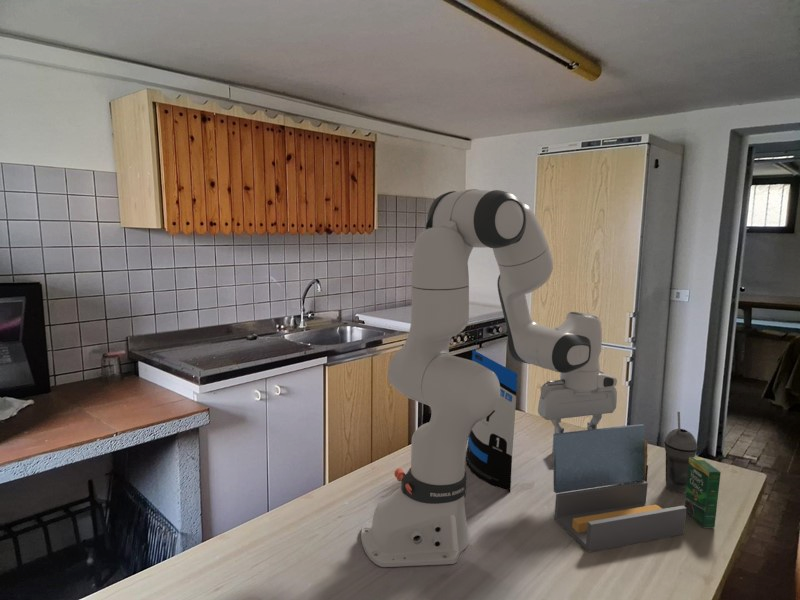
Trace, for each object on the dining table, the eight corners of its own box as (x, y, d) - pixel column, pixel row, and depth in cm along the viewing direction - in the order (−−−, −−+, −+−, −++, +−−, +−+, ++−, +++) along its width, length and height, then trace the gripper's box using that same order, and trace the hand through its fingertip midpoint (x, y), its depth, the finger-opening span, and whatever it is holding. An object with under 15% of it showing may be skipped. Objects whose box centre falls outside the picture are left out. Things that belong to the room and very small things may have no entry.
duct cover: (556, 434, 112) (553, 433, 113) (556, 493, 113) (553, 491, 113) (644, 425, 119) (641, 424, 120) (644, 479, 120) (641, 478, 120)
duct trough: (588, 552, 102) (591, 524, 101) (554, 519, 113) (556, 494, 113) (683, 534, 109) (686, 507, 108) (642, 504, 120) (644, 480, 120)
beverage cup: (691, 499, 123) (700, 420, 120) (658, 490, 127) (666, 414, 124) (693, 486, 129) (701, 411, 127) (661, 478, 133) (668, 405, 130)
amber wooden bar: (577, 532, 107) (578, 523, 107) (572, 527, 109) (572, 518, 109) (662, 517, 113) (663, 509, 113) (655, 512, 115) (656, 504, 115)
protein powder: (482, 448, 149) (487, 348, 144) (527, 490, 126) (534, 372, 122) (452, 452, 146) (457, 350, 142) (492, 495, 123) (499, 375, 119)
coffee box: (682, 507, 119) (688, 455, 118) (694, 508, 119) (700, 455, 118) (702, 528, 111) (708, 471, 110) (715, 528, 111) (722, 472, 110)
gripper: (549, 385, 117) (545, 442, 119) (622, 378, 123) (618, 433, 125) (534, 377, 123) (531, 431, 125) (605, 371, 129) (601, 423, 131)
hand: (575, 432), depth 125 cm, fingers open, 8 cm apart
